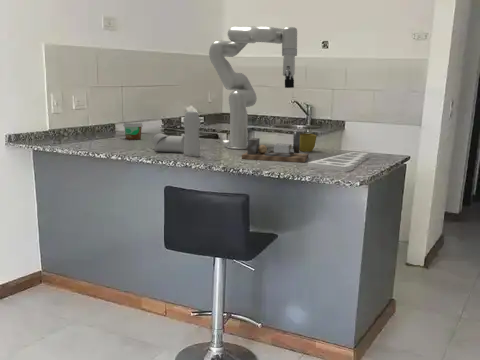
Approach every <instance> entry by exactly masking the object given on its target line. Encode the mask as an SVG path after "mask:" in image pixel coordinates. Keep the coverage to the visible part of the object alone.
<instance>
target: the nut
mask: <svg viewBox="0 0 480 360" xmlns="http://www.w3.org/2000/svg"><path fill="white" fill-rule="evenodd" d="M258 152H259V153H261V154H264V153H266V152H268V148H267V146H266V145H264V144H259V147H258Z"/></svg>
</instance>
